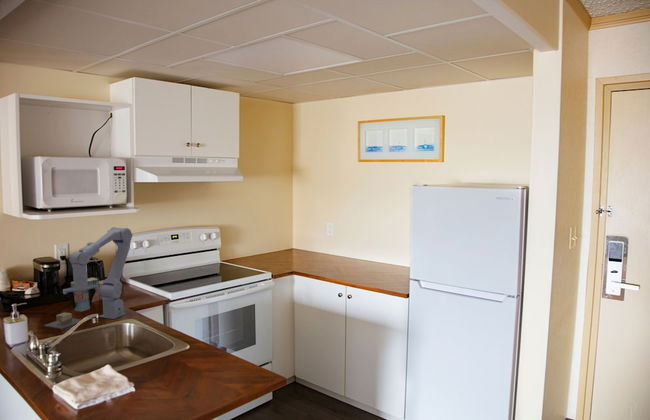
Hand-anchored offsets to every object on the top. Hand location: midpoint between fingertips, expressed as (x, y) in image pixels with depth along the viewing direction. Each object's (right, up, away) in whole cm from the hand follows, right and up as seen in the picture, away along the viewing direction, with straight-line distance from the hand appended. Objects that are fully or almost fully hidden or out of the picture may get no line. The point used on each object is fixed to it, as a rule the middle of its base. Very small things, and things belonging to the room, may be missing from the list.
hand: (82, 306), depth 214 cm
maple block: (-11, -9, +4) cm, 14 cm away
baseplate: (-10, -9, +4) cm, 14 cm away
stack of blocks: (-16, -6, +42) cm, 45 cm away
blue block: (0, -2, 0) cm, 2 cm away
